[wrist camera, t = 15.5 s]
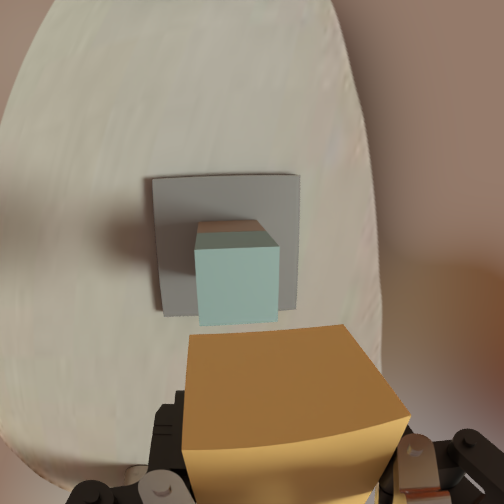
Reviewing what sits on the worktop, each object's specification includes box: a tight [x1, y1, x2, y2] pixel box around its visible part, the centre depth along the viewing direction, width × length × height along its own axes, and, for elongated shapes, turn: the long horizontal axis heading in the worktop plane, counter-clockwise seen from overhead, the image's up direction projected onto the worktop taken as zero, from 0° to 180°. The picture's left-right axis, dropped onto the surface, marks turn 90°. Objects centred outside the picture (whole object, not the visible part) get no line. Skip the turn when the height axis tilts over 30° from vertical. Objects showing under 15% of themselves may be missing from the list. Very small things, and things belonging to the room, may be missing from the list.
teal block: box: [194, 231, 280, 326], centre depth 23 cm, size 6×6×5 cm
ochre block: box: [182, 324, 411, 504], centre depth 9 cm, size 6×6×5 cm
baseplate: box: [152, 175, 300, 317], centre depth 29 cm, size 14×14×6 cm
